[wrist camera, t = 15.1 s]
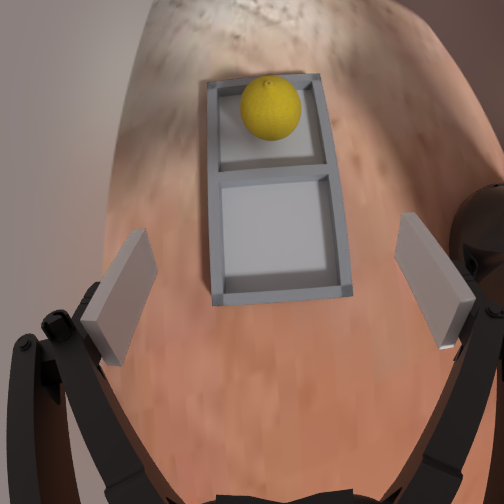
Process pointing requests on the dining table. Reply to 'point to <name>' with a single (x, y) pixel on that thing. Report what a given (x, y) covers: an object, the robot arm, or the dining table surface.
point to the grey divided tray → (274, 203)
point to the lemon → (270, 108)
